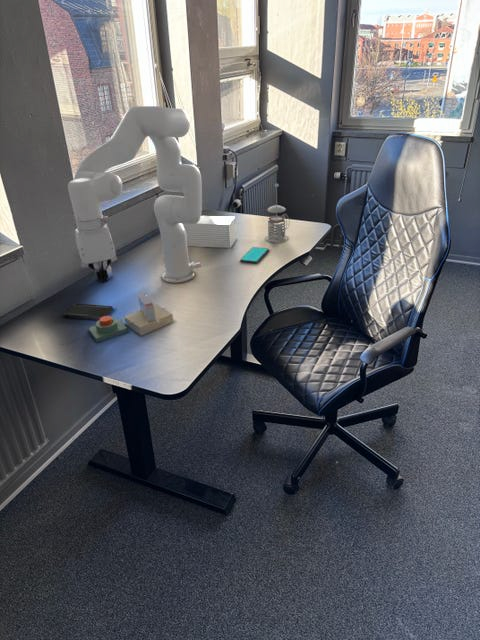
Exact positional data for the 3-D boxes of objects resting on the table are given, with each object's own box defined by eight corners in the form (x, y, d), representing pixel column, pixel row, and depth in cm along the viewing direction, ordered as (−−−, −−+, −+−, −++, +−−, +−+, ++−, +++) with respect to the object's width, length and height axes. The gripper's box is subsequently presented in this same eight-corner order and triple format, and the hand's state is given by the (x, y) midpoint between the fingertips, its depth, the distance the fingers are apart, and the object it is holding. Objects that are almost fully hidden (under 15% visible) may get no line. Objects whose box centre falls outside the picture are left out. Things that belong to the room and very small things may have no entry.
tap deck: (155, 309, 158) (154, 301, 157) (177, 323, 149) (176, 314, 148) (121, 323, 151) (119, 314, 149) (142, 338, 142) (140, 329, 140)
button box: (118, 321, 152) (117, 312, 150) (127, 332, 146) (126, 322, 144) (88, 331, 147) (86, 322, 145) (96, 342, 141) (94, 332, 140)
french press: (275, 233, 218) (275, 179, 206) (294, 238, 211) (295, 183, 199) (261, 239, 212) (260, 184, 200) (281, 245, 205) (281, 188, 193)
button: (110, 319, 147) (109, 314, 146) (113, 323, 144) (112, 319, 144) (99, 322, 145) (97, 318, 145) (102, 327, 143) (101, 322, 142)
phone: (74, 303, 162) (113, 306, 159) (75, 306, 163) (114, 309, 159) (62, 314, 155) (103, 317, 152) (63, 317, 156) (103, 320, 153)
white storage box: (236, 239, 214) (235, 216, 208) (230, 248, 205) (228, 224, 199) (171, 236, 221) (168, 214, 216) (163, 244, 212) (160, 222, 207)
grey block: (140, 310, 152) (137, 294, 149) (148, 308, 153) (145, 292, 150) (148, 322, 145) (145, 306, 142) (156, 320, 145) (153, 303, 143)
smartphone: (268, 248, 200) (256, 261, 188) (268, 250, 200) (256, 263, 188) (252, 246, 202) (239, 259, 190) (253, 248, 203) (240, 261, 191)
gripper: (113, 215, 138) (124, 271, 147) (61, 224, 132) (76, 282, 142) (119, 222, 132) (130, 279, 141) (65, 232, 127) (80, 292, 136)
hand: (103, 281), depth 141 cm, fingers closed
